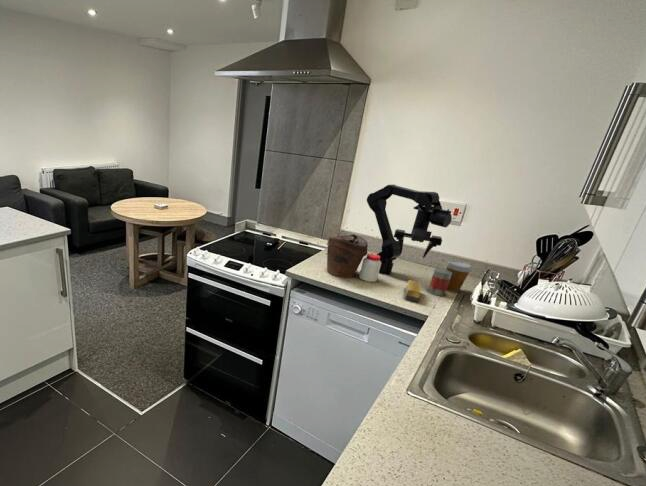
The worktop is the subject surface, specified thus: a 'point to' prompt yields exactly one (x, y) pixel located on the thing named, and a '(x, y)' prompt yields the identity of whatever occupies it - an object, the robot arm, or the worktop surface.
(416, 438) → the worktop surface
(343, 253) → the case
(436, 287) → the tin can
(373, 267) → the pill bottle
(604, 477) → the worktop surface
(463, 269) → the disposable coffee cup
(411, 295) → the golden brown bar
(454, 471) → the worktop surface
